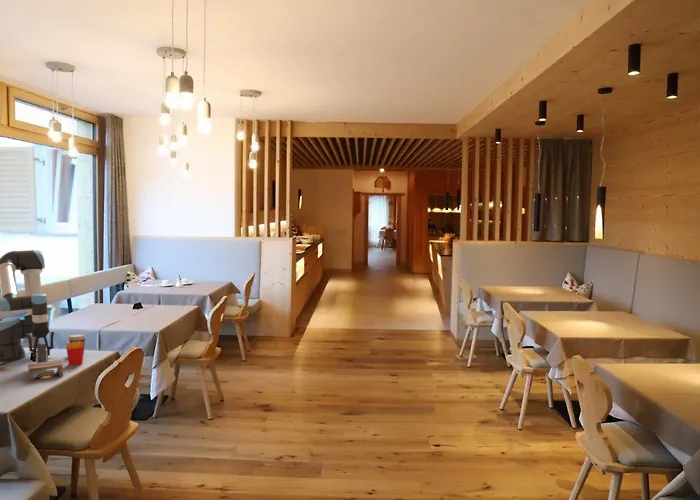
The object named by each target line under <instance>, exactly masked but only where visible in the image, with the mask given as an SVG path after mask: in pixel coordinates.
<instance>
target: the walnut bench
mask: <svg viewBox="0 0 700 500" xmlns="http://www.w3.org/2000/svg"><path fill="white" fill-rule="evenodd" d="M27 367H28V370H27V371H28V372H27V373H28V379H29V382H34V372H40V371H42V370H53V369H57V374H58V375H59V378H60V377H61V378H62V377H64V374H63V373H64V371H63V370H64V369H63V363H62V361H61V359H56V360H48V361H47V362H40V363H36V362H35V363H29V364H27Z"/></svg>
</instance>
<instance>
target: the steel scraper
mask: <svg viewBox="0 0 700 500" xmlns="http://www.w3.org/2000/svg"><path fill="white" fill-rule="evenodd" d="M46 350H47V348H46V345H45V343H42V344H41V343H40V344H39V343H38V344H37V349H36V351H37V352H38V363H40V362H47V361H46ZM44 373H52V374H53V375H55V368H53V369H47V370H40V371H36V377H37V378H38V377H40V375H41V374H44Z"/></svg>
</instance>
